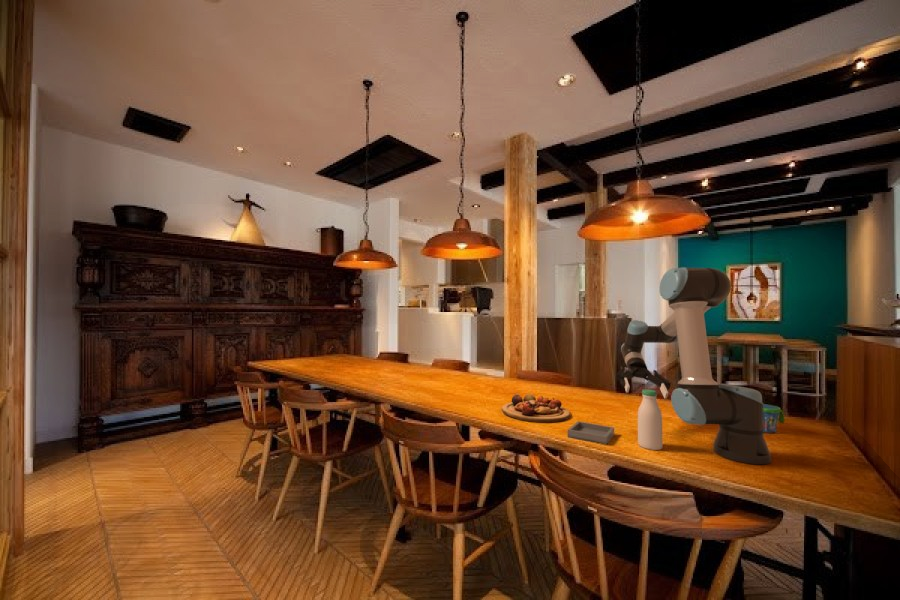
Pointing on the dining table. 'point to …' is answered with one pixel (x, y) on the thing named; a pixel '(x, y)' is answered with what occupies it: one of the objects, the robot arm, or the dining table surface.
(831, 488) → the dining table surface
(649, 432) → the milk bottle
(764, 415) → the snack cup
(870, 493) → the dining table surface
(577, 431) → the bottle tray
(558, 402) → the wooden plate with food
